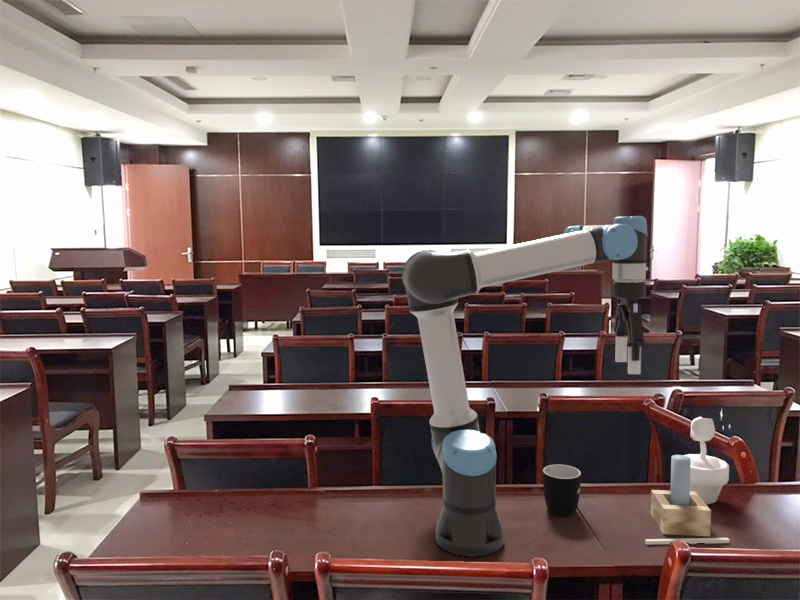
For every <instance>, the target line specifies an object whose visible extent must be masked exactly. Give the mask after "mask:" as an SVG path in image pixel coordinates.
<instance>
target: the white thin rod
mask: <svg viewBox="0 0 800 600" xmlns="http://www.w3.org/2000/svg"><path fill="white" fill-rule="evenodd" d="M675 540H682V541H685V542H687V543H689V544H690V545H695V544H697V543H705V544H730V538H728V537H700V538H699V537H698V538H697V537H696V538H694V537H693V538H689V537H688V538H652V539H651V538H646V539H645V538H644V543H645V545H650V546H651V545H671V544H670V543H671V542H673V541H675ZM689 544H688V545H689Z"/></svg>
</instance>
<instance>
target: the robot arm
mask: <svg viewBox="0 0 800 600" xmlns="http://www.w3.org/2000/svg"><path fill="white" fill-rule="evenodd" d="M648 235H649V234H648V225H647V218H646V217H644V216H643V215H633V216H631V215H627V216H615V217H614V218H613V222H612V224H592V225H587V224H586V225H585V224H584V225H582V224H578V225H570V226H567V227H566V228H565V230H564V232H563V234H559V235H553V236H549V237H544V238H540V239H535V240H530V241H526V242H521V243H516V244H511V245H507V246H502V247H496V248H493V249H487V250H484V251H478V252H472V251H471V250H469V249H464V250H460V251H451V252H445V251H444V252H443V251H436V250H432V249H428V250H420V251H417V252H415V253H414V254H412V255H411V256H409V258H408V259H407V260H406V261H405V263H404V265H403V268H402V270H401V280H402V284H403V286H404V288H405V293H406V298H407V304H408V308H409V313H410V314H412V315H413V316H414V317H416V318H417V323H418V327H419V328H418V329H419V333H420V339H421V340H420V341H421V345H422V351H423V356H424V361H425V362H424V363H425V367H426V373H427V379H428V384H429V391H430V395H431V396H430V397H431V402H432V403H431V404H432V407H433V414H432V415H431V417H430V419H429V426H430V432H431V433H430V434H431V448H432V451H433V455H435V458H436V460H437V463H438V464H439V467H440V471H441V473H442V502H443V503H442V504H443V505H442V509H441V511H440V514H439V518H438V522H437V524H436V527H435V542H436V544H437V546H438V545H439V546H440V547H441V548H440V547H439V546H438V547H439V548H440V549H442V548H443V549H444V550H443V549H442V550H443V551H445V550H446V551H449V552H451V553H454V554H457V555H456V556H458V555H462V556H461V557H464V556H469V557H468V558H478V557H477V556H481V557H486V556H485V555H487V556H490V555H493V554H494V553H496V552H499V551H500V550H501V549H502V548H503V546H504V543H505V532H504V528H503V525H502V521H501V519H500V515H499V512H498V510H497V503H496V501H497V499H496V498H497V450H496V444H495V441H494V440H493V438H492V437H491V436H489V435H488V434H487V433H482V432H481V430H480V426H479V418H478V413H477V412H476V411H475V410H474V409H472V408H471V407H470V403H469V397H468V391H467V386H466V380H465V379H466V378H465V373H464V366H463V361H462V355H461V349H460V344H459V338H458V333H457V328H456V327H457V325H456V322H455V321H456V320H455V314H454V311H455V309H456V308H457V306H458V305H459V301H458V299H460V298H463V297H467V296H468V297H469V296H473V295H475V294H478V293H479V292H480V290H481V289H482V288H486V287H490V286H495V285H499V284H504V283H508V282H513V281H517V280H522V279H527V278H532V277H536V276H540V275H544V274H551V273H553V272H559V271H563V270H568V269H572V268H577V267H582V266H585V265H586V266H587V265H590V264H596V263H601V262H606V261H607V262H608V261H611V260H612V274H611V275H612V280H614V281H613V282H612V289H611V292H612V293H611V294H612V297H614V298H616V311H615V319H614V325H613V333H614V334H615V347H614V348H615V358H614V360H615V361H614V362H616V363H627V374H628V375H641V373H642V367H641V366H642V346H644V345H645V338H644V329H643V319H642V304H641V303H638V301H637V299H643V298H645V297H646V296H647V295H646V294H647V293H646V289H647V288H646V287H647V283H646V282H645V281H644V280H646V277H647V275H646V274H647V271H649V267H648V266H647V246H648ZM446 551H445V552H446ZM449 552H448V553H449ZM451 553H450V554H451ZM492 553H493V554H492ZM454 554H453V555H454ZM489 554H490V555H489Z"/></svg>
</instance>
